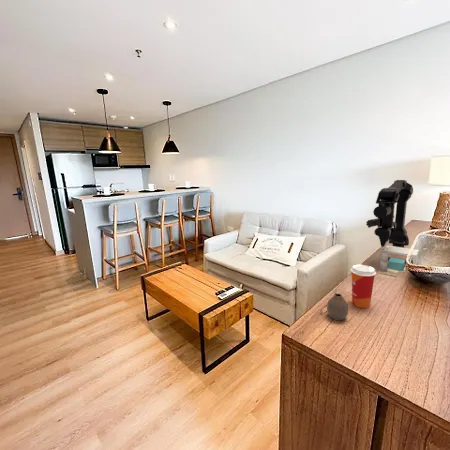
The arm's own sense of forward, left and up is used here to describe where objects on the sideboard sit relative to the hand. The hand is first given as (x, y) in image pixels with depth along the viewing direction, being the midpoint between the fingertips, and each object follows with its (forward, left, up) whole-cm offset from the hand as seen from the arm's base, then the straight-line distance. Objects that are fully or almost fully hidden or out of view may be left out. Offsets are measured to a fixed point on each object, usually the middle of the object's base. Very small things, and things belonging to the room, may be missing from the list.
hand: (384, 244), depth 124 cm
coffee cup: (+45, +2, -13) cm, 47 cm away
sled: (+5, +5, -12) cm, 14 cm away
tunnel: (-8, +6, -12) cm, 16 cm away
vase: (+59, -2, -13) cm, 61 cm away
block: (+2, +6, -11) cm, 13 cm away
